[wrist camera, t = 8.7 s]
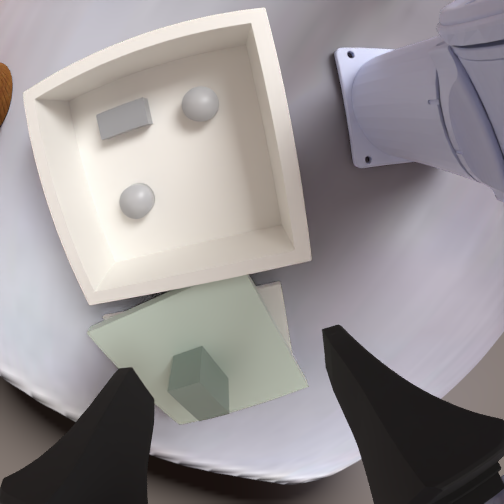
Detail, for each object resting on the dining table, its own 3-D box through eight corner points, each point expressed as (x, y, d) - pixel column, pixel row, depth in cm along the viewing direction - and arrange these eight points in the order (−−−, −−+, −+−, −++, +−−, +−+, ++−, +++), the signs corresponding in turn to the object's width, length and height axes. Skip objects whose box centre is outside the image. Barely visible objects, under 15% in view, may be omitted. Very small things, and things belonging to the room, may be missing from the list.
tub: (256, 34, 14) (264, 7, 10) (293, 230, 19) (311, 260, 15) (61, 95, 14) (22, 93, 10) (112, 270, 19) (89, 305, 15)
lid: (240, 252, 19) (245, 296, 14) (304, 371, 24) (317, 418, 19) (94, 319, 20) (70, 364, 16) (181, 410, 26) (176, 454, 21)
